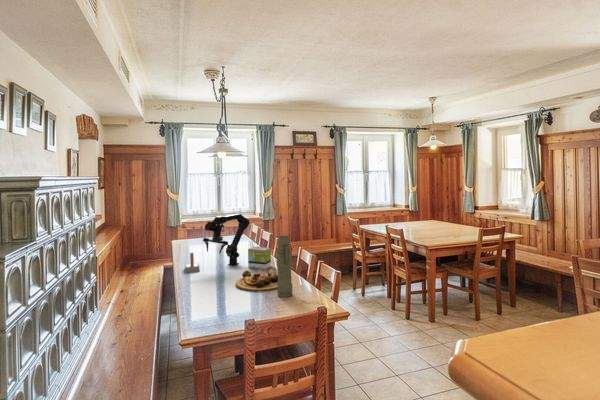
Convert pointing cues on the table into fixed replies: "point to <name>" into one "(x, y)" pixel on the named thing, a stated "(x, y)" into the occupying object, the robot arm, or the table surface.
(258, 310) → the table surface
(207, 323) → the table surface
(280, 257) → the grey-green tall block
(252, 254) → the tea box
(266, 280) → the wooden plate with food
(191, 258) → the cover plate
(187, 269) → the box
